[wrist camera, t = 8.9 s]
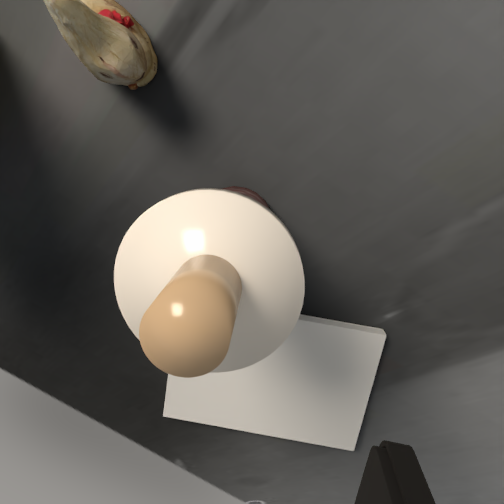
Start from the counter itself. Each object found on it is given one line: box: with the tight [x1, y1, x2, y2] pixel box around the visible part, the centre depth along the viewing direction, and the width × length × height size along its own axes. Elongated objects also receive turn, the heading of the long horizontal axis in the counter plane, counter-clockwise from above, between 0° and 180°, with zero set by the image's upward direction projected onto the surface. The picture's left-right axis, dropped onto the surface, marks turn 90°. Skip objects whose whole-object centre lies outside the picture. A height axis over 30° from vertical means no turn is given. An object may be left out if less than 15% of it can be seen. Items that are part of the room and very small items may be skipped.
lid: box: [114, 188, 305, 378], centre depth 17 cm, size 9×9×6 cm
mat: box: [163, 314, 387, 451], centre depth 36 cm, size 18×12×1 cm, turn 81°
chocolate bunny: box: [43, 0, 157, 90], centre depth 26 cm, size 6×8×10 cm
